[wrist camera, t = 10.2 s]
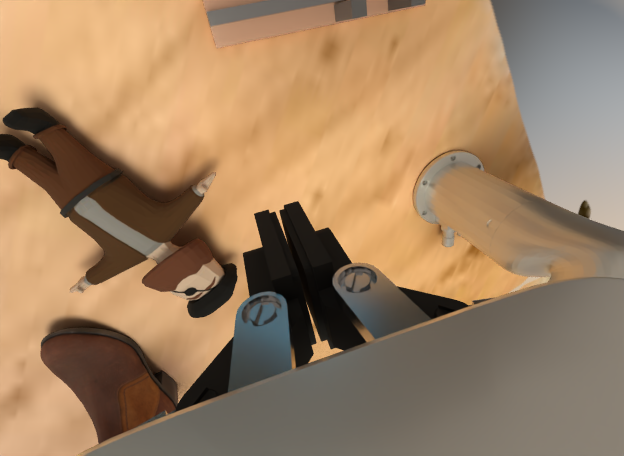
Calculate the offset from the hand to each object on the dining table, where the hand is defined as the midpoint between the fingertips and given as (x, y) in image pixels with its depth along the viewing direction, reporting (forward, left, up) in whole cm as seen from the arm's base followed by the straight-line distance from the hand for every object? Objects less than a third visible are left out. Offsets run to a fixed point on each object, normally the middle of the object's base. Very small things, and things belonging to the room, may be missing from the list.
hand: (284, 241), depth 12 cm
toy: (-10, +16, -33) cm, 38 cm away
